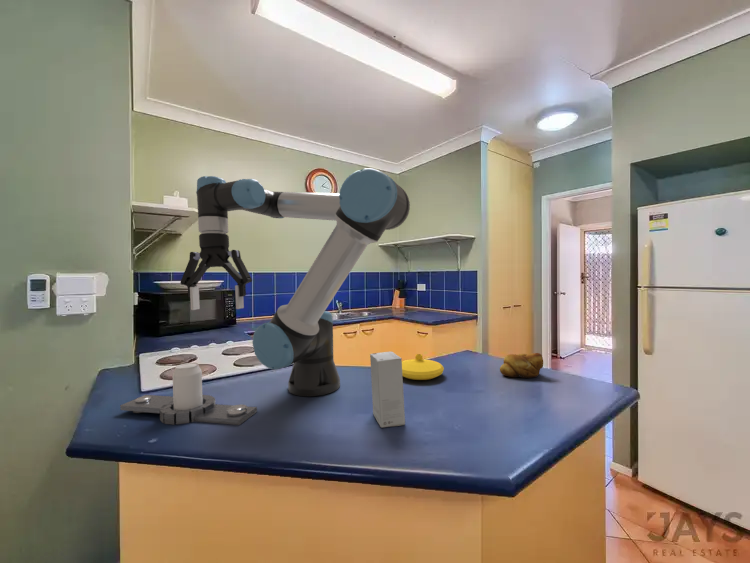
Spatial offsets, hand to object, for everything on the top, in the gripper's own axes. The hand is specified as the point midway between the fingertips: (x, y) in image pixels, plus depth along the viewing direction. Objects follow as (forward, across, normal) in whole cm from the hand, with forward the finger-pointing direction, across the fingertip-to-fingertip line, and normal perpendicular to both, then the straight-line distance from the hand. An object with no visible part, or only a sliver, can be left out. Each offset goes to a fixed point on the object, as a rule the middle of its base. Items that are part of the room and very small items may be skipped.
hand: (217, 309), depth 91 cm
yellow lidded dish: (+26, -56, -20) cm, 65 cm away
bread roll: (+26, -88, -23) cm, 95 cm away
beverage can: (+25, +1, +12) cm, 28 cm away
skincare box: (+26, -48, +11) cm, 56 cm away
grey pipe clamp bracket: (+24, +1, +12) cm, 27 cm away
